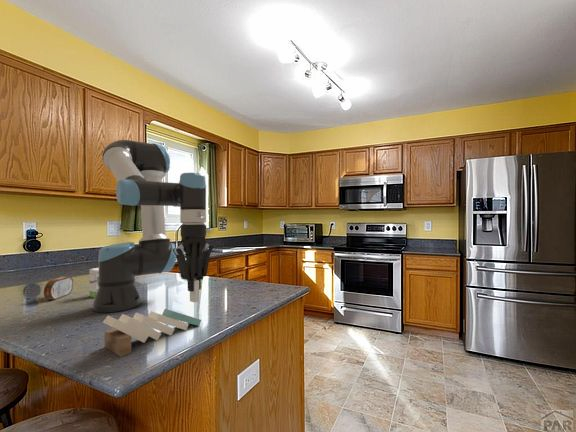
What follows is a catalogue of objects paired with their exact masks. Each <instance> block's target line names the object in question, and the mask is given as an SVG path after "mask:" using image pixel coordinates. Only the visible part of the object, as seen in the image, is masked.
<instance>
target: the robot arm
mask: <svg viewBox="0 0 576 432" xmlns="http://www.w3.org/2000/svg"><path fill="white" fill-rule="evenodd" d="M101 157H102V158H101V159H102V162H103V164H104V166H105V167H106V168H107V169H108V170H110V171H111V172H112V174H113V176H114V178H115V179H116V181H117V182H116V183H117V184H116V187H115V192H116V193H115V195H116V200H117V203H118V204H119V205H122V206H123V205H124V206H132V207H134V206H140V213H141V229H142V230H141V233H142V237H141V238H140V239H139V240H138V245H136V244H135V242H133V241H132V242H131V241H130V242H128V241H127V242H121V243H119V242H118V243H115V244H114V243H113V244H109V245H105V246H103V247H101V248H100V249H99V251H98V260H97V262H98V268H99V289H98V292H97V295H96V297H95V298H94V301H93V304H92V307H93V308H92V310H93V312H95V313H115V312H121V311H127V310H130V309H134V308H136V307H138V306H140V305H141V297H140V294H139V292H138V291H139V290H138V289H137V286H136V278H135V277H137V276H139V277H140V276H146V275H155V274H162V273H163V274H164V273H167V272H170V271H172V270H173V268H174V266H175V264H176V262H177V266H178V270H179V274H180V277H181V279H182V280H186V281H187V291H188V292H189V302H192V303H200V290H202V281H203V279H204V277H207V273H208V268H209V264H210V263H209V262H210V257H211V252H212V251H213V248H214V246H213V245H210V244H209V243H208V241H207V239H206V237H207V225H206V223H207V184H206V176H205V175H204V174H203V173H198V172H183V173H181V174H180V176H179V181H178V182H167V181H166V182H165V181H163V178H165V177H166V174H167V173H168V172H169V171H170V168H171V167H170V166H171V159H170V158H171V157H170V153H169V151H168V149H167V148H166V147H165V146H164V145H161V144H157V143H149V142H142V141H136V140H129V139H119V140H115V141H113V142H111V143H109V144H107V145H106V147H104V149H103V150H102V154H101ZM165 206H166V207H179V208H180V211H179V212H180V213H179V214H180V215H179V216H180V218H179V221H180V223H181V226H180V237H181V240H180V241H179V242H180V244H179V245H178V246H177V247H176V245H175V243H172V242H171V238H170V237H169V236H168V235H167V233H166V219H165V217H166V216H165Z"/></svg>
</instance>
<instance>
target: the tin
mask: <svg viewBox="0 0 576 432" xmlns="http://www.w3.org/2000/svg"><path fill="white" fill-rule="evenodd" d="M73 286H74V279H73V278H72V277H71V276H65V275H64V276H63V275H62V276H59V277H56V278H52V279H51V278H50V279H49V280H48V281H47V282H46V284H45V286H44V289H43V295H44V298H45V299H46V300H47V301H50V300H51V301H53V300H54V301H55V299H56V300H58V299H61V298H63V296H64V297H66V295H67V296H68V294H69V295H70V294H71V292H72V291H73ZM60 297H61V298H60Z"/></svg>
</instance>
